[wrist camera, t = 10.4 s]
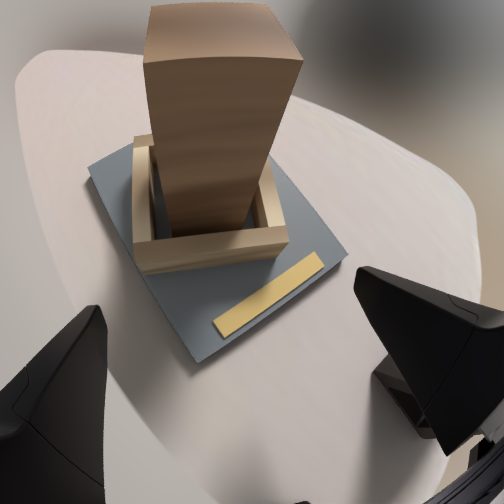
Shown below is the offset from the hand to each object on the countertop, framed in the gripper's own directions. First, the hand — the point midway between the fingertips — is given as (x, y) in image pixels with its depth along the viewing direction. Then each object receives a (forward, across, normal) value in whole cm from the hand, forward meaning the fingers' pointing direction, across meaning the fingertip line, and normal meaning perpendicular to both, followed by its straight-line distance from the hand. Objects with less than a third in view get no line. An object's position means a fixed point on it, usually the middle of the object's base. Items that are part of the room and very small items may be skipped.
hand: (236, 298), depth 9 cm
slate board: (+12, 0, +1) cm, 12 cm away
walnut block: (+11, 0, 0) cm, 11 cm away
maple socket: (+11, 0, 0) cm, 11 cm away
